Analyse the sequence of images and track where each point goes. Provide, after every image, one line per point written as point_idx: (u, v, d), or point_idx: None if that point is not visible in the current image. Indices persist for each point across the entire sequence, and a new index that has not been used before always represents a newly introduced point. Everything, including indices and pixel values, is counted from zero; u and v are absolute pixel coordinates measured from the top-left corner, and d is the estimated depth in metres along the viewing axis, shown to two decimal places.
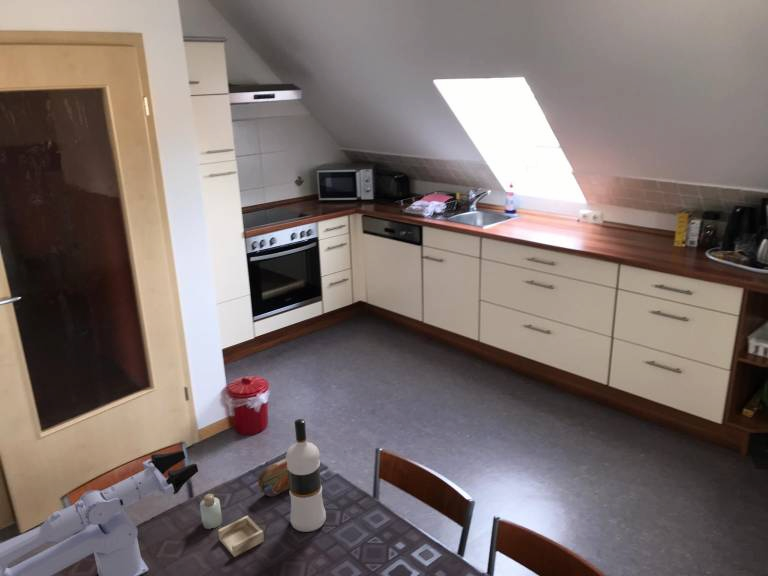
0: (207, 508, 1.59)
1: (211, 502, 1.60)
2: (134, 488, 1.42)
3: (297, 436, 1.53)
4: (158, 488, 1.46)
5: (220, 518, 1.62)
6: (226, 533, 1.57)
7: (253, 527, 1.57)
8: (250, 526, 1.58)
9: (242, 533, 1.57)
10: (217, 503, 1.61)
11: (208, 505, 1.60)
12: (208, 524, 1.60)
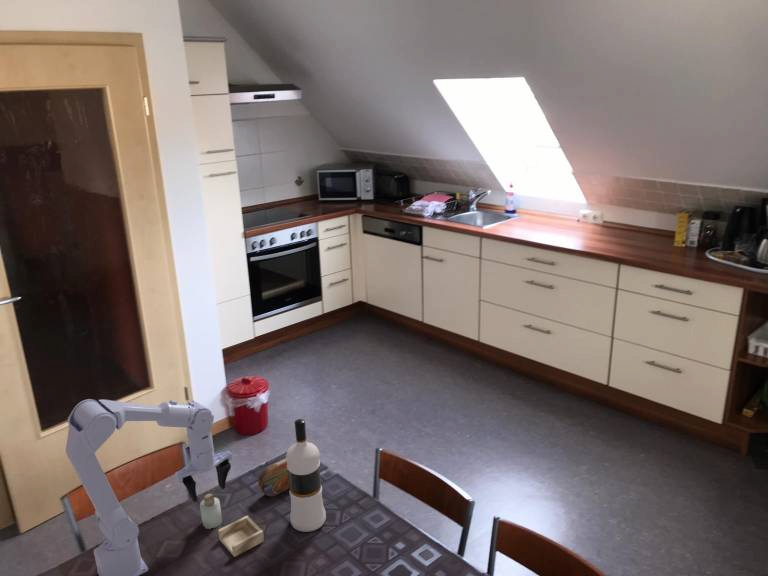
0: (207, 508, 1.59)
1: (211, 502, 1.60)
2: (211, 446, 1.55)
3: (297, 436, 1.53)
4: (215, 460, 1.58)
5: (220, 518, 1.62)
6: (226, 533, 1.57)
7: (253, 527, 1.57)
8: (250, 526, 1.58)
9: (242, 533, 1.57)
10: (217, 503, 1.61)
11: (208, 505, 1.60)
12: (208, 524, 1.60)
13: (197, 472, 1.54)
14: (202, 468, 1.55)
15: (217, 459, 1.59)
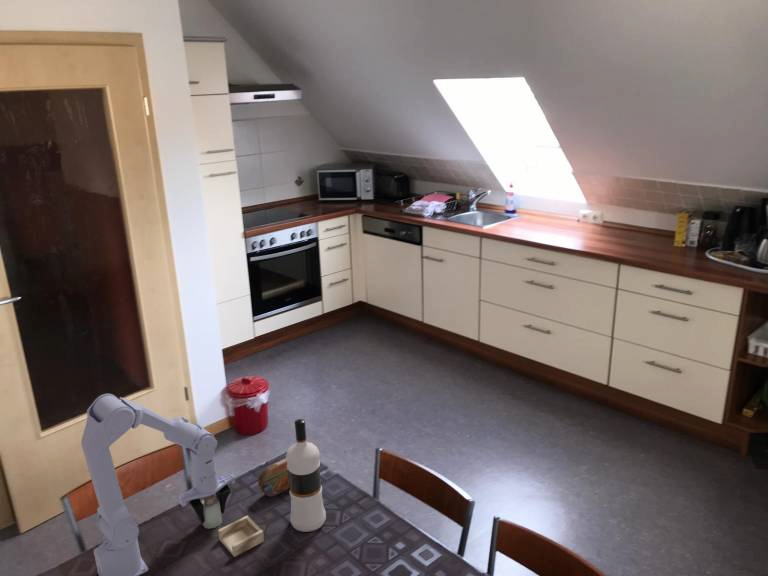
0: (207, 508, 1.59)
1: (211, 502, 1.60)
2: (215, 470, 1.57)
3: (297, 436, 1.53)
4: (218, 484, 1.60)
5: (220, 518, 1.62)
6: (226, 533, 1.57)
7: (253, 527, 1.57)
8: (250, 526, 1.58)
9: (242, 533, 1.57)
10: (217, 503, 1.61)
11: (208, 505, 1.60)
12: (208, 524, 1.60)
13: (201, 496, 1.56)
14: (206, 492, 1.57)
15: (220, 482, 1.61)
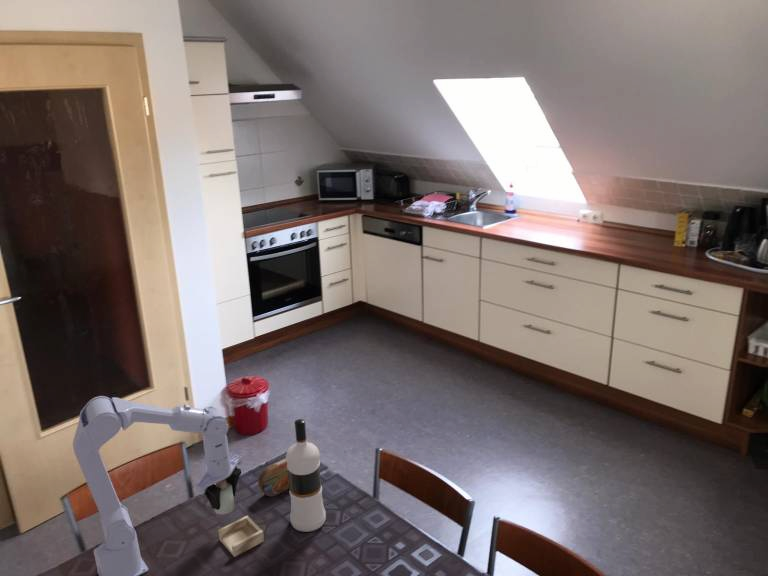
0: (222, 492, 1.54)
1: (225, 486, 1.55)
2: (226, 455, 1.51)
3: (297, 436, 1.53)
4: None
5: (233, 501, 1.57)
6: (226, 533, 1.57)
7: (253, 527, 1.57)
8: (250, 526, 1.58)
9: (242, 533, 1.57)
10: (230, 486, 1.56)
11: (222, 490, 1.54)
12: (224, 509, 1.55)
13: (218, 480, 1.51)
14: (222, 475, 1.52)
15: None
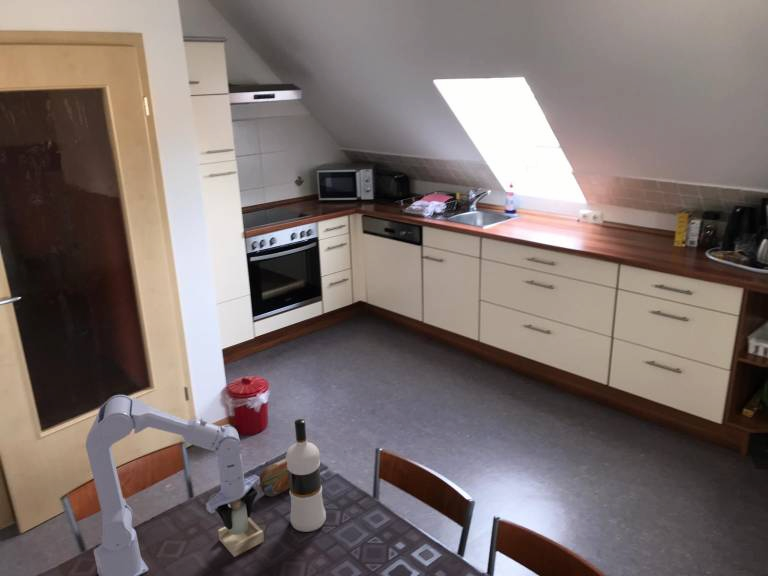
0: (235, 513, 1.51)
1: (238, 506, 1.52)
2: (239, 476, 1.48)
3: (297, 436, 1.53)
4: (245, 486, 1.52)
5: (247, 522, 1.54)
6: (226, 533, 1.57)
7: (253, 527, 1.57)
8: (250, 526, 1.58)
9: (242, 533, 1.57)
10: (244, 507, 1.53)
11: (235, 510, 1.51)
12: (236, 530, 1.52)
13: (229, 500, 1.48)
14: (234, 496, 1.48)
15: (246, 485, 1.53)
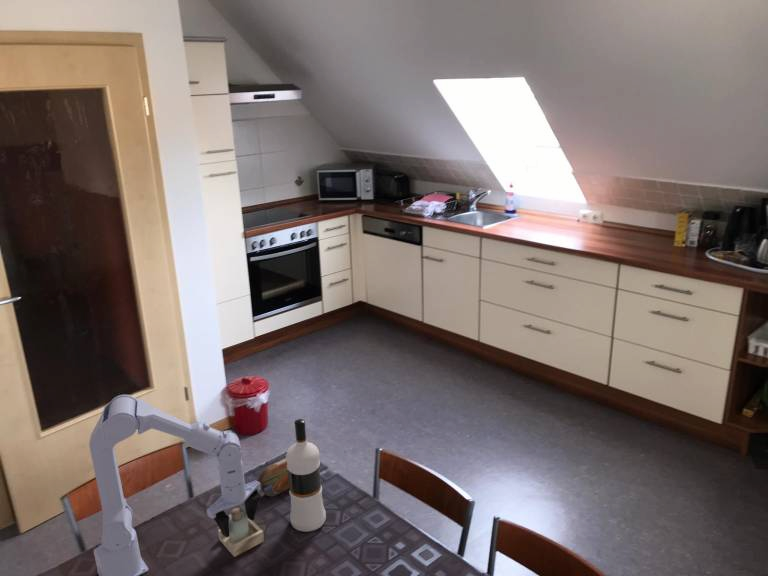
0: (236, 523, 1.52)
1: (239, 516, 1.53)
2: (239, 481, 1.48)
3: (297, 436, 1.53)
4: (245, 492, 1.52)
5: (248, 532, 1.55)
6: None
7: (253, 527, 1.57)
8: (250, 526, 1.58)
9: None
10: (245, 517, 1.54)
11: (236, 520, 1.52)
12: (237, 540, 1.53)
13: (230, 506, 1.48)
14: (235, 501, 1.49)
15: (247, 490, 1.54)
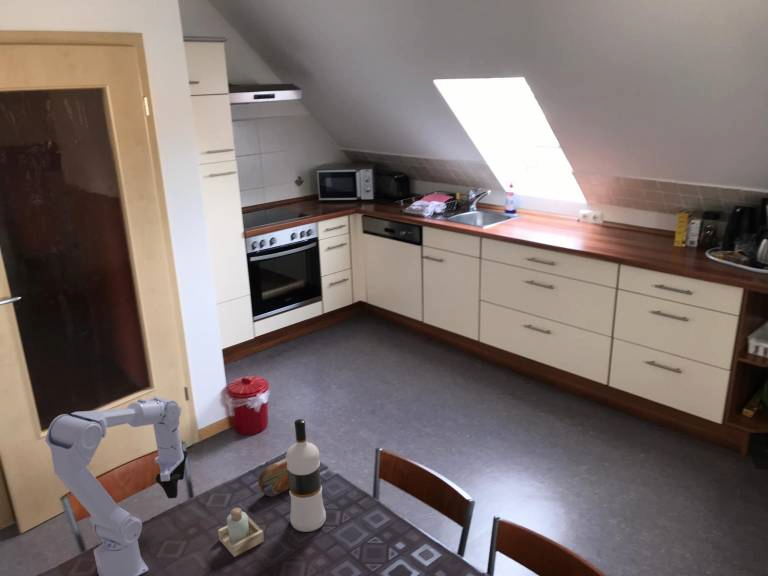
0: (236, 523, 1.52)
1: (239, 516, 1.53)
2: (179, 438, 1.56)
3: (297, 436, 1.53)
4: None
5: (248, 532, 1.55)
6: (226, 533, 1.57)
7: (253, 527, 1.57)
8: (250, 526, 1.58)
9: None
10: (245, 517, 1.54)
11: (236, 520, 1.52)
12: (237, 540, 1.53)
13: (177, 464, 1.55)
14: (179, 459, 1.56)
15: None
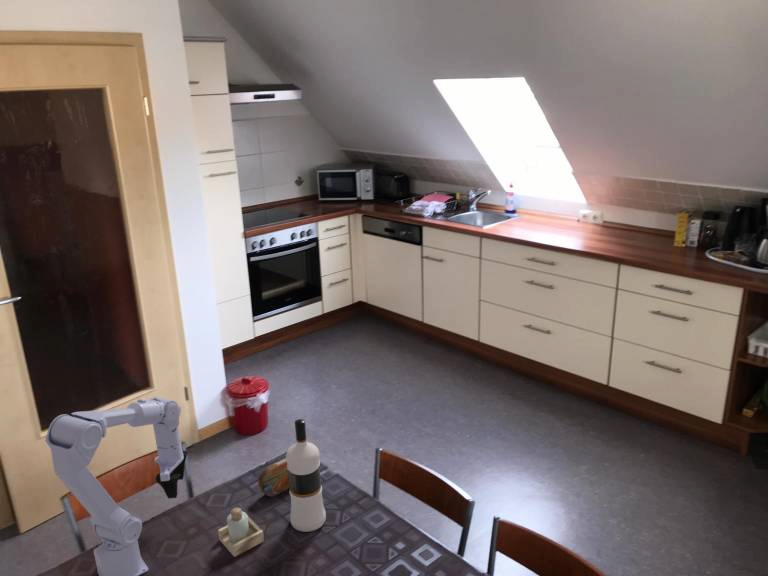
0: (236, 523, 1.52)
1: (239, 516, 1.53)
2: (179, 438, 1.56)
3: (297, 436, 1.53)
4: None
5: (248, 532, 1.55)
6: (226, 533, 1.57)
7: (253, 527, 1.57)
8: (250, 526, 1.58)
9: None
10: (245, 516, 1.54)
11: (236, 519, 1.52)
12: (237, 539, 1.53)
13: (177, 464, 1.55)
14: (179, 458, 1.56)
15: None
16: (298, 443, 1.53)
